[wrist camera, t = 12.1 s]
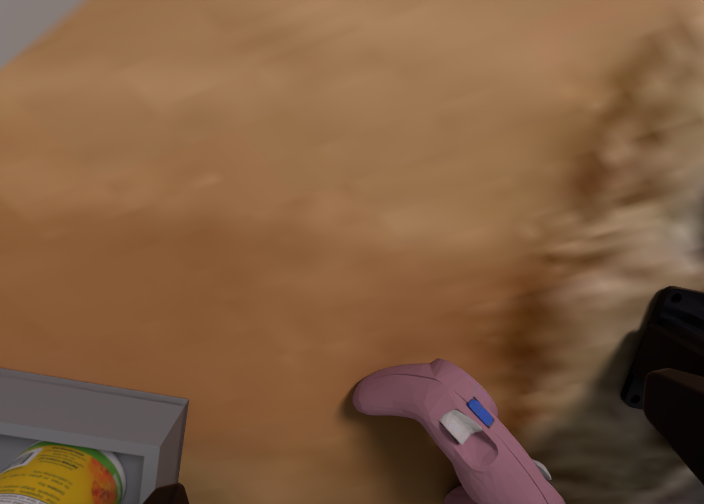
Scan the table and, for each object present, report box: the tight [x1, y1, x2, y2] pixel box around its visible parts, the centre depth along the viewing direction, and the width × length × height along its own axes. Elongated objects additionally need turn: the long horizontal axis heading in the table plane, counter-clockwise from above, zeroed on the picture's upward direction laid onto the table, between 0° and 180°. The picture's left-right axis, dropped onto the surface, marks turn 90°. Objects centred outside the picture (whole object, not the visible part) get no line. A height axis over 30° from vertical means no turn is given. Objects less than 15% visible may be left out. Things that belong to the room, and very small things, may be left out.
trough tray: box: [0, 368, 189, 504], centre depth 20 cm, size 10×10×4 cm
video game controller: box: [352, 359, 565, 504], centre depth 19 cm, size 10×5×7 cm, turn 36°
